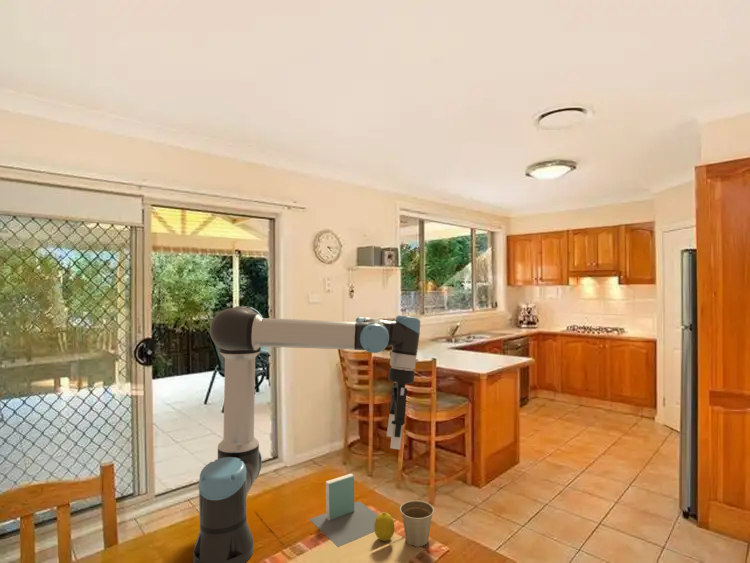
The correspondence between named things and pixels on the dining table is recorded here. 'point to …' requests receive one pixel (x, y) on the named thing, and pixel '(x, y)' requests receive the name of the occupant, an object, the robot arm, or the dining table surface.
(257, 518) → the dining table surface
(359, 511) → the mat
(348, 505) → the tile
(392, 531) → the lemon
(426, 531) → the flower pot
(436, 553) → the dining table surface
